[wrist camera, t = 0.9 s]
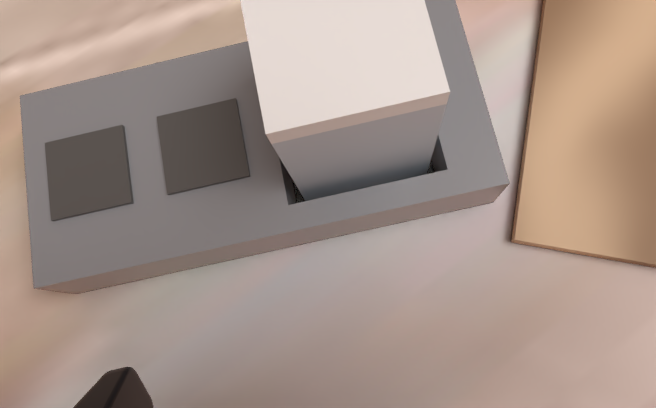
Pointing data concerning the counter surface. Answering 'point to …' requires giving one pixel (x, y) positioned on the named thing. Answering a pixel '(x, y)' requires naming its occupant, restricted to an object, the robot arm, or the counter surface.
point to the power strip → (215, 169)
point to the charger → (347, 89)
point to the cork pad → (592, 133)
